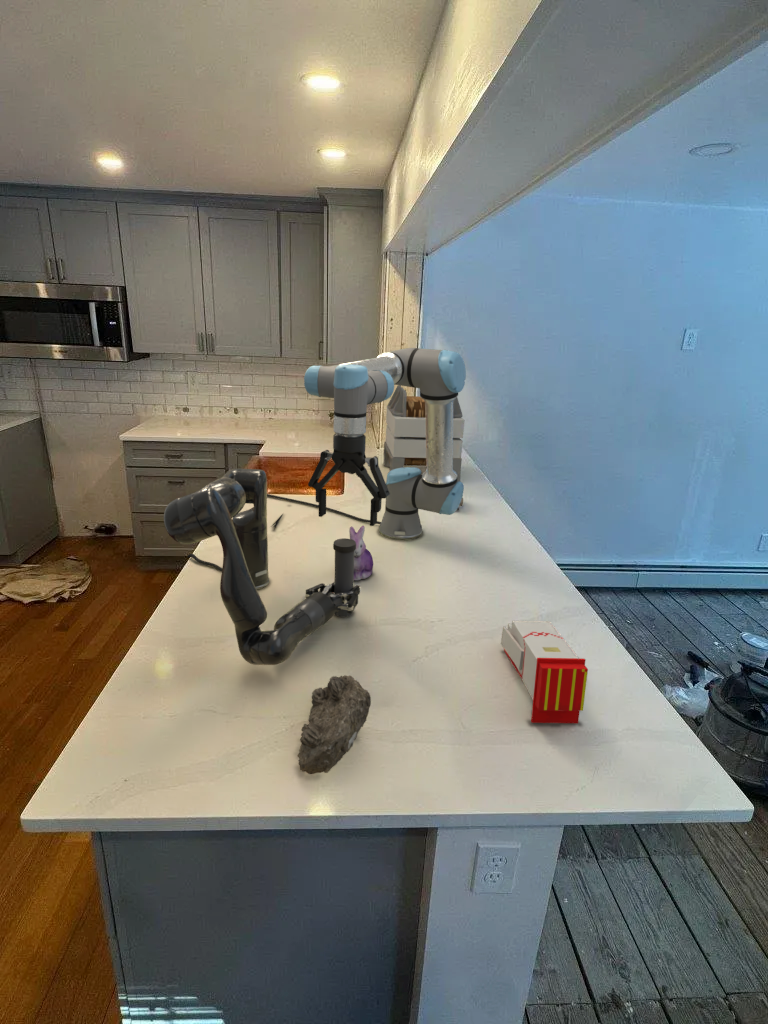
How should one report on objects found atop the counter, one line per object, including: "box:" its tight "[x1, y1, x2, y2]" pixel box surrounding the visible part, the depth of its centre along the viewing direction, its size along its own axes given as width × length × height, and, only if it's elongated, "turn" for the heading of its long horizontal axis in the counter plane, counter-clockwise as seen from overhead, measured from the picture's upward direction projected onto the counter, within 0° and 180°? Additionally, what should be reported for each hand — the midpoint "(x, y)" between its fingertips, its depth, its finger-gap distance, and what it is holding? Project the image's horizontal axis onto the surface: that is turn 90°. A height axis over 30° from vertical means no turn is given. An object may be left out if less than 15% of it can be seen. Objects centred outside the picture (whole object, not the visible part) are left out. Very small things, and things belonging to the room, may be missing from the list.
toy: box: [500, 620, 589, 724], centre depth 121 cm, size 12×13×30 cm
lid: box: [332, 538, 356, 553], centre depth 141 cm, size 6×6×2 cm
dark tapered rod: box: [270, 513, 284, 530], centre depth 210 cm, size 2×28×2 cm
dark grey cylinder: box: [333, 550, 354, 618], centre depth 144 cm, size 5×5×19 cm
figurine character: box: [456, 495, 464, 511], centre depth 230 cm, size 7×8×15 cm
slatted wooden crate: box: [383, 385, 465, 482], centre depth 268 cm, size 34×33×41 cm
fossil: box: [296, 674, 372, 775], centre depth 103 cm, size 22×10×15 cm
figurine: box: [348, 525, 374, 581], centre depth 166 cm, size 9×10×15 cm
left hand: (349, 586), depth 147 cm, fingers closed on dark grey cylinder, 5 cm apart
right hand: (347, 519), depth 139 cm, fingers open, 13 cm apart
